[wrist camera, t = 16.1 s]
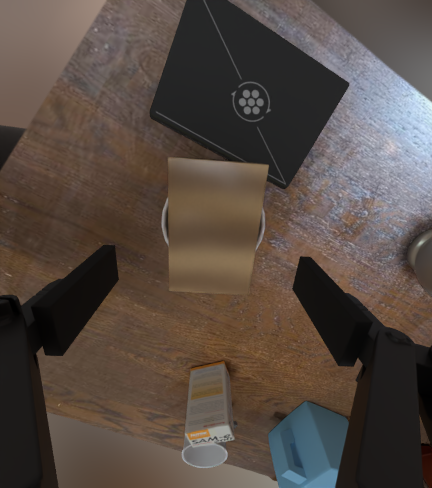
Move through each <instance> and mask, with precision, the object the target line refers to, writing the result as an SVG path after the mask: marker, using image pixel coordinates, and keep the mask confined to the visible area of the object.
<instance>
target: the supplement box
mask: <svg viewBox="0 0 432 488" xmlns="http://www.w3.org/2000/svg"><path fill="white" fill-rule="evenodd" d="M185 435H186V437H187V438H188V440H189V442H190V444H191V445H192V447H199V446H204V445H209V444H214V443H220V442H225V441H231V440H234V439H235V438H234V426H233V413H232V401H231V389H230V377H229V372H228V370H227V367H226V365H225V362H224V361H221V362H217V363H213V364H208V365H204V366H199V367H195V368H191V373H190V383H189V393H188V404H187V414H186V425H185Z"/></svg>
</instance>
